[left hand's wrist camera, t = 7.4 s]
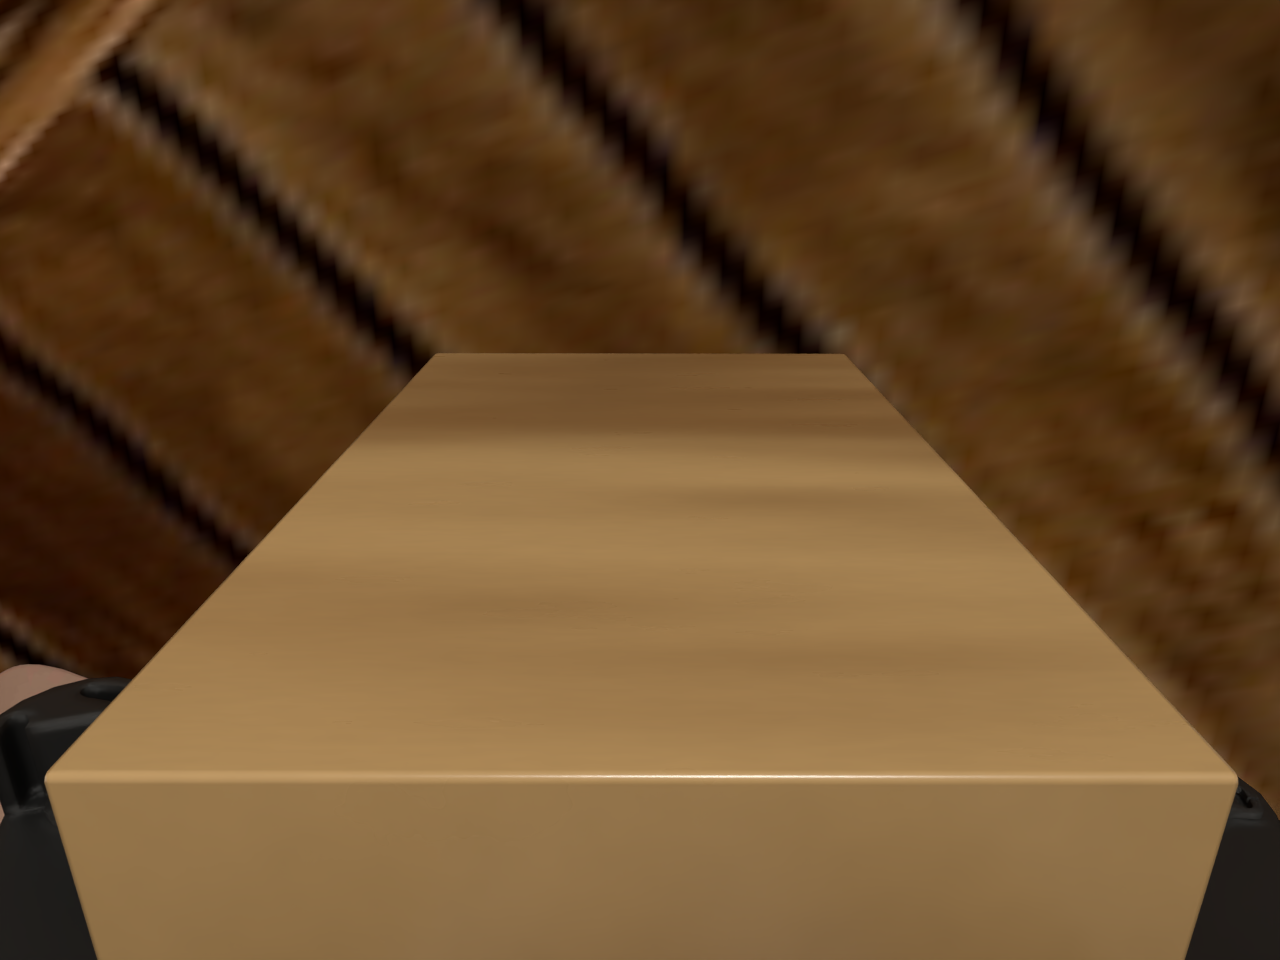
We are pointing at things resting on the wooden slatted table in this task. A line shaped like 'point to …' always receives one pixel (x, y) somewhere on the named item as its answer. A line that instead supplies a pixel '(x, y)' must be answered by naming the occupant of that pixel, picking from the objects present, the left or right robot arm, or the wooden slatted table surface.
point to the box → (640, 701)
